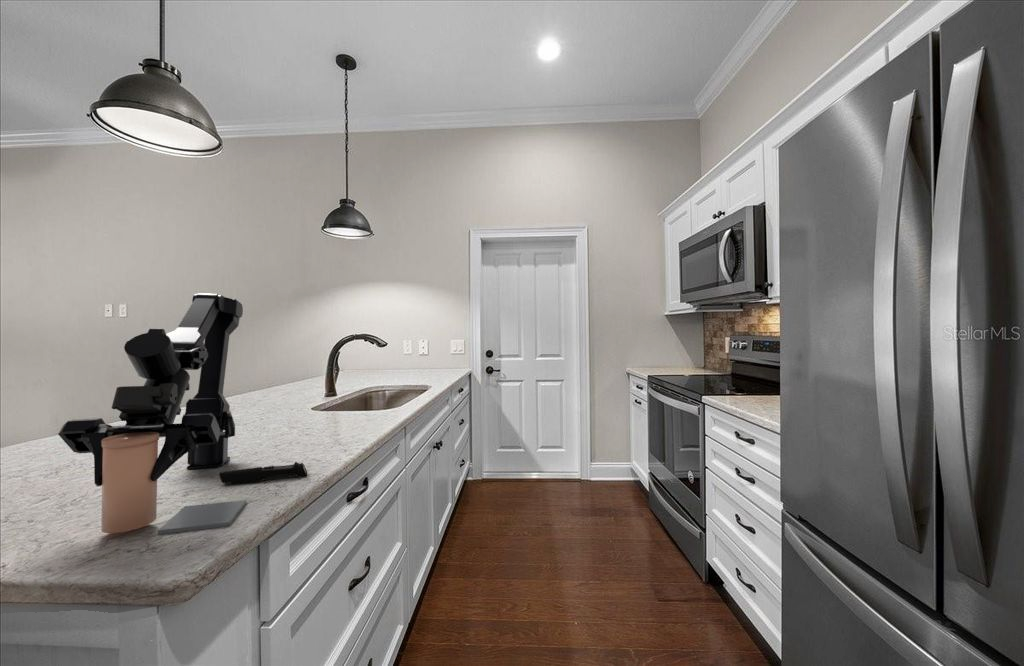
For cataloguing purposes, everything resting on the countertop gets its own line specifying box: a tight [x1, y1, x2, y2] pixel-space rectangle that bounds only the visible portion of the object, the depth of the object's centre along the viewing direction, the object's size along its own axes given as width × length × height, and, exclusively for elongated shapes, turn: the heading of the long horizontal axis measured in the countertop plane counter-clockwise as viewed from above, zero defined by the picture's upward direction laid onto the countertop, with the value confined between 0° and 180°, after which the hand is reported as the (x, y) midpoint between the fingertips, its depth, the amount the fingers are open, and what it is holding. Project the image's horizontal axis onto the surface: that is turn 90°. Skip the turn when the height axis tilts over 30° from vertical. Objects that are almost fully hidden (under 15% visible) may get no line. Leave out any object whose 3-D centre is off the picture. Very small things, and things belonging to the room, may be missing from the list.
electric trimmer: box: [218, 461, 308, 484], centre depth 83 cm, size 4×16×3 cm, turn 115°
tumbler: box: [100, 432, 160, 534], centre depth 60 cm, size 6×6×13 cm
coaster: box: [157, 499, 248, 535], centre depth 65 cm, size 9×9×1 cm
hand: (125, 482), depth 59 cm, fingers closed on tumbler, 6 cm apart
